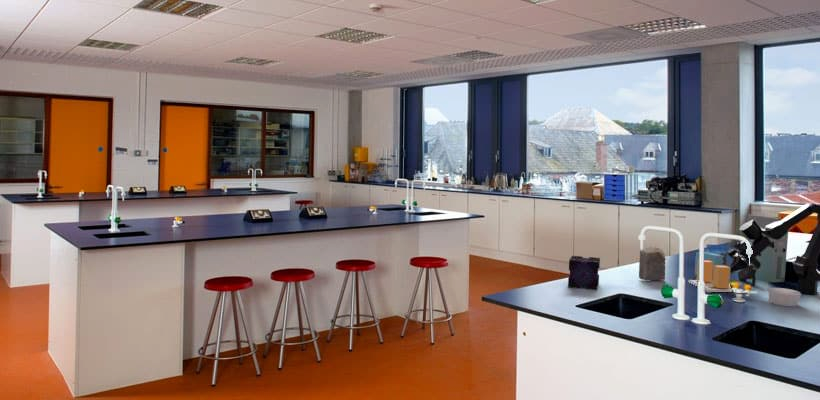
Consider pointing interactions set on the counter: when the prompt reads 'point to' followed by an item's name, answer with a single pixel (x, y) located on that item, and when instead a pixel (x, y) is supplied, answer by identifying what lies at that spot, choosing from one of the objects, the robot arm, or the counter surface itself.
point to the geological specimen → (652, 264)
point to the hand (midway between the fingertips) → (728, 272)
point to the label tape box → (717, 251)
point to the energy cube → (584, 272)
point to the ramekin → (783, 296)
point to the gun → (747, 274)
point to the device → (771, 253)
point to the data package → (711, 257)
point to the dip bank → (711, 287)
